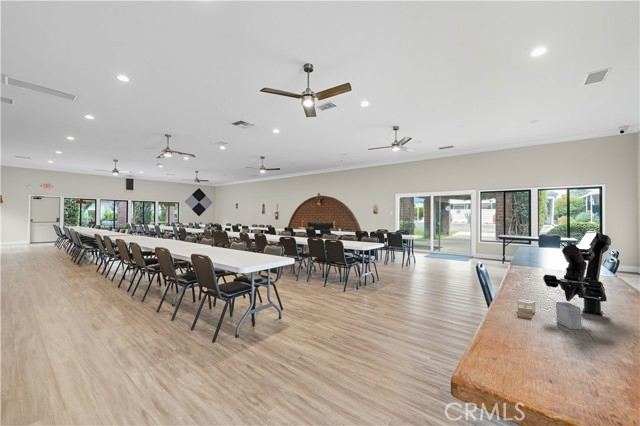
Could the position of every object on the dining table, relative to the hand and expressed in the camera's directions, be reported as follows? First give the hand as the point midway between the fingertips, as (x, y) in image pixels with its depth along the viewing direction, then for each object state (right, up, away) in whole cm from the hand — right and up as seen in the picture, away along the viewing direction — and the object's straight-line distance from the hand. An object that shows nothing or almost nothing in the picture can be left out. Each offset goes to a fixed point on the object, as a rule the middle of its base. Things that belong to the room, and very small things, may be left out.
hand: (567, 300), depth 114 cm
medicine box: (0, -11, 0) cm, 11 cm away
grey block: (-4, -11, +18) cm, 21 cm away
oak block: (-8, -11, +12) cm, 18 cm away
